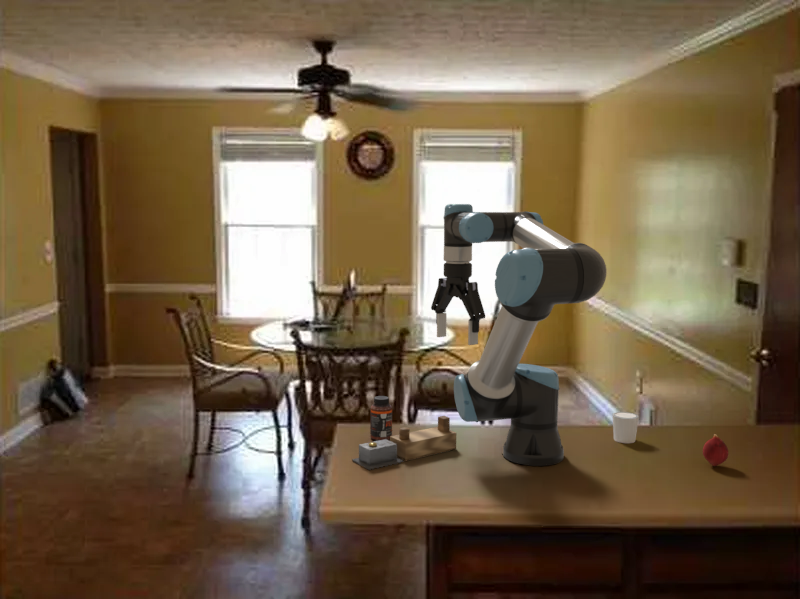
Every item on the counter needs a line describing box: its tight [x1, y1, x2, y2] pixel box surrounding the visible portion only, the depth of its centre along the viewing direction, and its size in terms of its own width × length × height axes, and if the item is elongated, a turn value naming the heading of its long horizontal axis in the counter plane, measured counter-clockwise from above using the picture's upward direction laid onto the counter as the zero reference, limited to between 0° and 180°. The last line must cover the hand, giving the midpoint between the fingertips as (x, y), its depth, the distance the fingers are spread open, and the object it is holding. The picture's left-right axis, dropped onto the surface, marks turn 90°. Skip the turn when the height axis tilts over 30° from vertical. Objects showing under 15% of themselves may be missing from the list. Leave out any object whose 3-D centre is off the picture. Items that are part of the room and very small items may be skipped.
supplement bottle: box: [369, 395, 393, 441], centre depth 210 cm, size 6×6×11 cm
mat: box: [351, 457, 404, 471], centre depth 192 cm, size 8×10×1 cm
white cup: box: [612, 411, 640, 444], centre depth 209 cm, size 7×7×7 cm
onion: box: [702, 433, 729, 467], centre depth 189 cm, size 6×6×8 cm
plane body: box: [389, 415, 457, 462], centre depth 199 cm, size 16×7×8 cm, turn 124°
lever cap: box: [358, 439, 398, 466], centre depth 192 cm, size 5×8×4 cm, turn 124°
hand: (456, 340), depth 209 cm, fingers open, 13 cm apart
